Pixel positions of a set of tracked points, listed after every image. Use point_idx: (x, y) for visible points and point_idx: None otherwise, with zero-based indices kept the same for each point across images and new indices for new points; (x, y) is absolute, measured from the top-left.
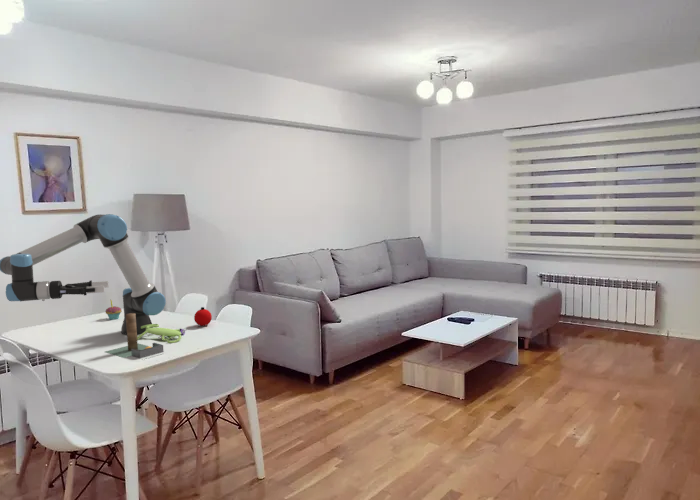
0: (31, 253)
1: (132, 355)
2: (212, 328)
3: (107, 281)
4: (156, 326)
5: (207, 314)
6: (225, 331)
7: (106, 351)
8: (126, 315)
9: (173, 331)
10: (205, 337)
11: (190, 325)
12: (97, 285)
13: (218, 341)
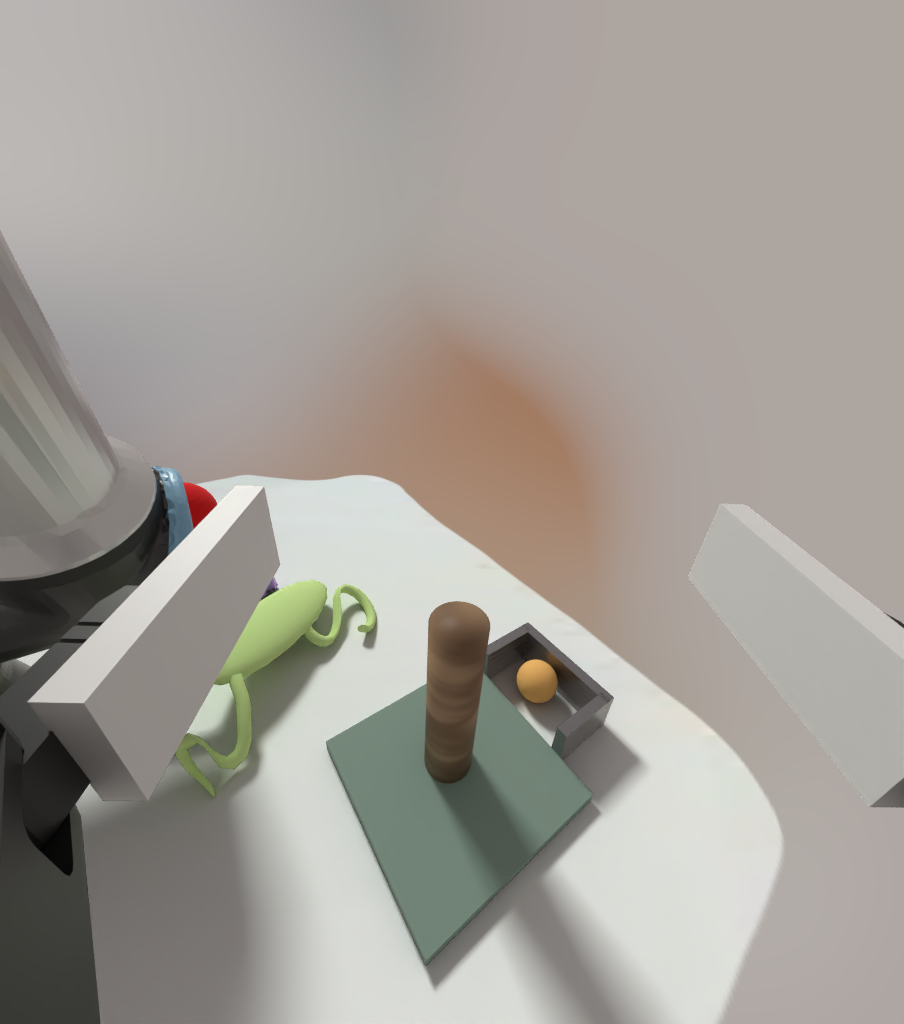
0: None
1: (565, 751)
2: None
3: (261, 491)
4: None
5: (210, 494)
6: (325, 509)
7: (425, 937)
8: (479, 644)
9: (307, 592)
10: (362, 546)
11: None
12: (198, 650)
13: (429, 529)
